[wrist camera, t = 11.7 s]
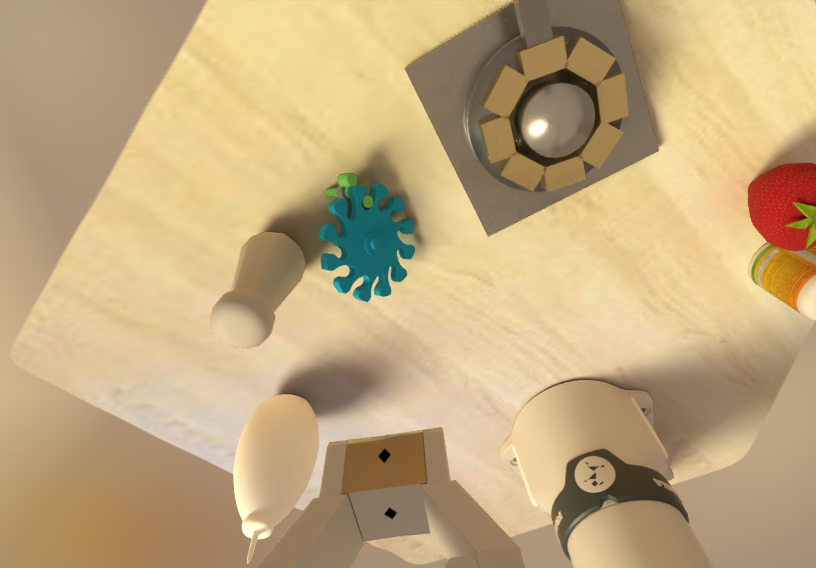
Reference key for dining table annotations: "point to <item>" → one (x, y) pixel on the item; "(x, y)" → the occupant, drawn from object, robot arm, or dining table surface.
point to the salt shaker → (257, 289)
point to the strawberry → (785, 206)
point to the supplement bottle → (787, 276)
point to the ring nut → (537, 61)
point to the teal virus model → (365, 237)
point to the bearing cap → (529, 106)
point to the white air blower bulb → (274, 463)
